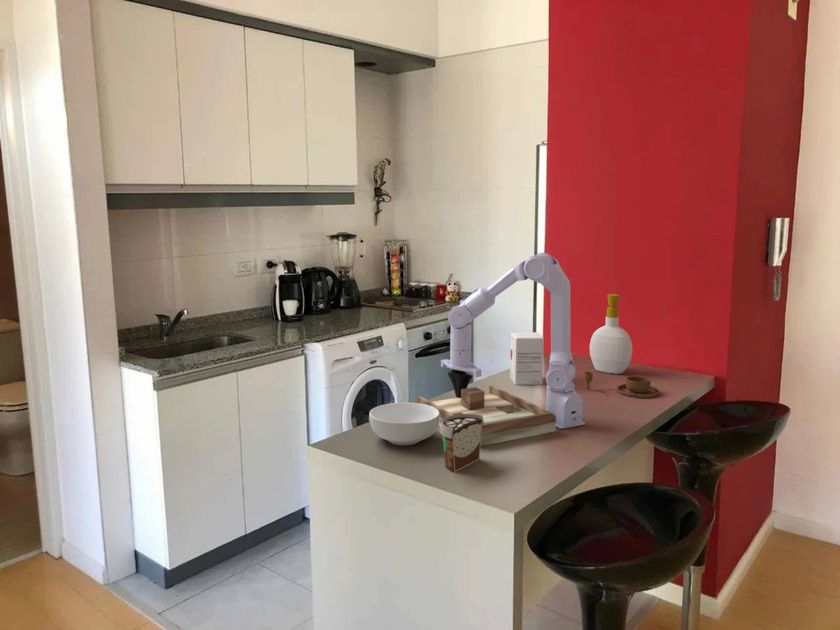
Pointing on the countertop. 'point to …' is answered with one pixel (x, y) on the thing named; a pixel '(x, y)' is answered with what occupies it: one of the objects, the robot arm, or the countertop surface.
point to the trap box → (500, 416)
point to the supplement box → (526, 358)
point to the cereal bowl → (404, 422)
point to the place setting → (630, 386)
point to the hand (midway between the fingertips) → (460, 397)
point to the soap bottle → (611, 343)
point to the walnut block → (472, 398)
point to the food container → (461, 440)
